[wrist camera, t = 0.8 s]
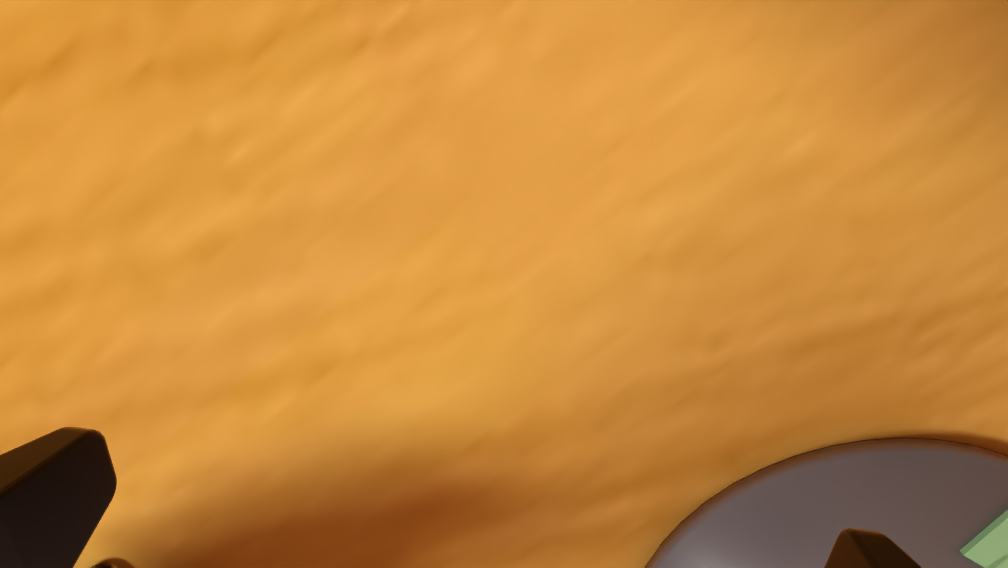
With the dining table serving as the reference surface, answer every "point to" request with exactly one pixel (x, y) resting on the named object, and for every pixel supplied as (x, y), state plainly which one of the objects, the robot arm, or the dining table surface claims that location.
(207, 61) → the dining table surface
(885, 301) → the dining table surface
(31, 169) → the dining table surface
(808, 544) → the tuner plate
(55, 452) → the robot arm
